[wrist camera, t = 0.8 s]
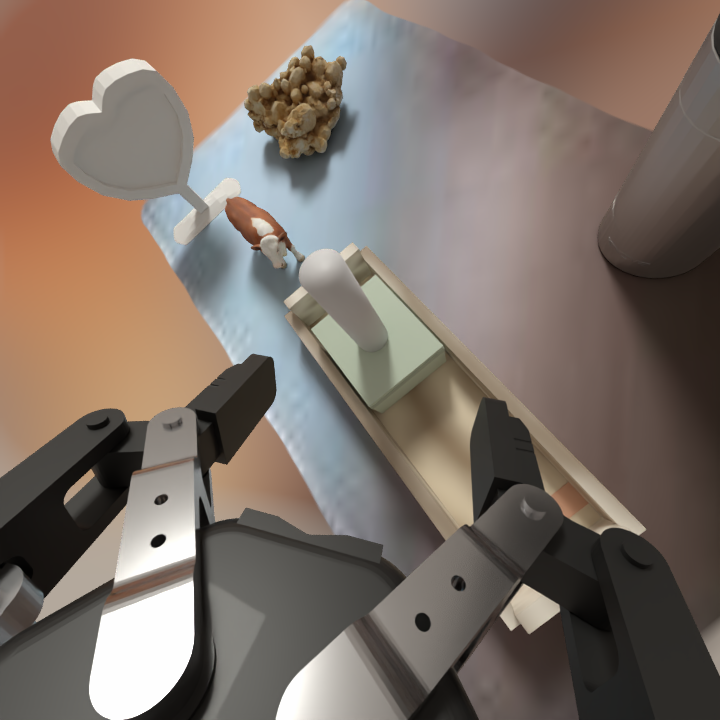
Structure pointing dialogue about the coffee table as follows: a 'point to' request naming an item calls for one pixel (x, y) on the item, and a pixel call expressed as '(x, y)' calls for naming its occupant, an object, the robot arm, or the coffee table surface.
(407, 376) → the green block with post
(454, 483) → the bay
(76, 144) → the heart sculpture
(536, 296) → the coffee table surface
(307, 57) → the mineral formation
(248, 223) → the bull figurine
